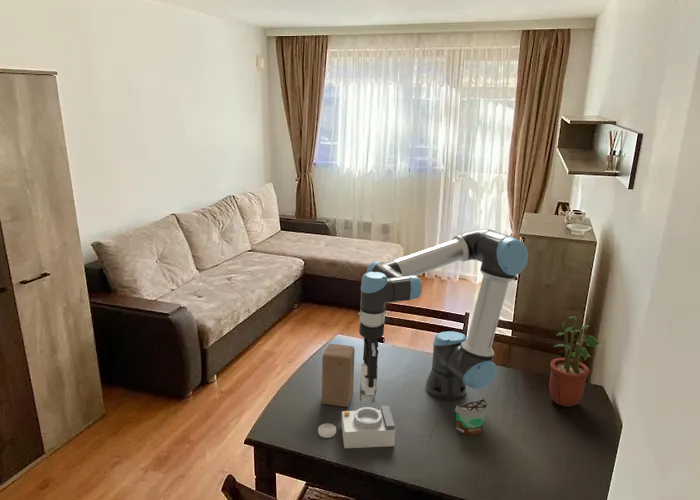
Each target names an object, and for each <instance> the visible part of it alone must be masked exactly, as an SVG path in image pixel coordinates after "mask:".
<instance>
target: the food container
mask: <svg viewBox="0 0 700 500" xmlns="http://www.w3.org/2000/svg"><path fill="white" fill-rule="evenodd" d="M454 412H456V413H455V415H456V417H455V418H456V422H455V425H456V427H455V428H456V432H458V433H460V434H462V435H464V436H467V437H468V436H471V437H475V436H478V435H480V434H481V433H482V431H483V426H484V423H485V422H484V421H485V416H486V415H487V414H488V412H489V404H488V402H487V399H485V397H482V398H481V399H480V400H477V401H471V402H468V403H466V404H464V405H462V406H458V405H456V406H455V408H454ZM479 433H480V434H479Z"/></svg>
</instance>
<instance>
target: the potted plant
mask: <svg viewBox="0 0 700 500" xmlns="http://www.w3.org/2000/svg"><path fill="white" fill-rule="evenodd" d="M568 319H572V326H571V327H568V325H567V322H566V320H564V321H563V322H562V326H561V327H562V329H563V332H562V331H560V332H559V331H558V332H557V334H556V336H563V335H564V337H563V338H564V343H559V344H556V345H554V346H553V347H564V357H558V358H553V359H552V360H551V361H550V366H549V367H550V369H551V371H550V376H549V384H548V386H549V389H548V390H549V395H550V398H551V400H552V401H553V402H554V403H555V404H557V405H559V406H560V407H565V408H571V407H574V406H576V405H578V404H579V403H580V402H581V399H582V397H583V395H584V391H585V387H586V382H587V381H586V380H587V378H588V377H589V375H590V369H589V367H588V366H587V365H586V364H585V363H583V362H581V361H580V360H581V359H580V358H581V356H582V357H583V359H584V361H586V360H587V359H588V358H589V357H590V358H592V356H591V355H590V354H589V352H588V350H587V348H586V347H581V345H582V344H581V342H582V341H584V342H585V343H586V345H587V347H588V346H589V347H597V346H598V345H599V344H601V342H599V340H597V339H596V337H594V336H593V335H588V334H584V332H585V331H584V330H586V329H587V328H589V325H588V324H586V325H582V327H580V329H581V330H580V329H576V326H577V317H576V315H575V316H574V315H573V316H570V317H568ZM568 331H570V332H571V335H570V342H569V335H568ZM575 332H579V335H578V338H577V339H576V338H575V334H576V333H575ZM583 334H584V335H583ZM582 337H583V338H582ZM581 340H582V341H581ZM575 341H576V342H575ZM574 342H575V348H574ZM569 343H570V344H569ZM573 348H574V352H573Z"/></svg>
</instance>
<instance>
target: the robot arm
mask: <svg viewBox="0 0 700 500" xmlns="http://www.w3.org/2000/svg"><path fill="white" fill-rule="evenodd" d="M528 260H529V251H528V248H527V247H526V245H525V243H524V242H523V241H522V240H519V239H518V238H515V237H514V236H511V235H507V234H504V233H501V232H498V231H496V230H492V229H489V228H488V229H487V228H481V229H475V230H470V231H466V232H464V233H460V234H456V235H454V236H453V237H452V239H451V240H449V241H445V242H442V243H440V244H437V245H434V246H431V247H427V248H425V249H422V250H419V251H417V252H414V253H411V254H409V255H408V254H407V255H404V256H402V257H399V258H396V259H393V260H391V261H390V260H389V261H388V262H383V261H378V260H376V261H373V262H371V263H369V265H368V267H367V269H366V273H364V274H363V275H362V277H361V284H360V310H359V311H360V312H358V313H357V315H358V316H359V321H360V322H359V327H358V328H359V329H358V333H359V335H360V336H362V337H363V354H362V355H363V357H362V360H363V363H366V362H367V375H365V378H366V392H365V394H366V395H374V391H375V379H377V380H378V373H377V366H378V356H379V349H378V348H379V341H378V339H379V338H382V337H383V336H384V335H385V333H384V332H385V324H384V323H385V319H386V304H392V303H397V302H404V301H411V300H416V299H419V298H420V297H421V295H422V293H423V292H422V291H423V290H422V289H423V285H422V280H421V279H420V278H419V277H418V276H419V275H422V274H425V273H428V272H430V271H434V270H436V269H439V268H441V267H445V266H447V265H450V264H453V263H455V262H461V263H462V262H463V263H465V262H467V261H478V262H481V264H480V269H479V271H480V273H481V274H482V279H481V283H480V286H479V291H478V295H477V299H476V303H475V306H474V311H473V315H472V317H471V318H472V319H471V322H470V325H469V330H468V334H467V336H466V335H465V334H464V333H462V332H458V331H450V330H449V331H441V332H439V333H436V335H435V336H434V340H433V343H432V344H433V351H432V363H431V370H430V372H429V374H428V376H427V378H426V381H425V390H426V391H427V393H428V394H430V395H431V396H433V397H435V398H437V399H439V400H445V401H455V400H459V399H462V398H463V397H464V396H465V395H466V392H467V390H466V389H467V386H468V387H469V388H470V389H472V390H482V389H484V388H486V387H488V386H489V385H491V383H493V381H494V380H495V378H496V376H497V374H498V367H497V365H496V363H495V362H494V361H493V359H494V356H495V351H494V350H493V349H494V348H493V347H492V346H493V343H494V338H495V334H496V330H497V327H498V323H499V319H500V316H501V311H502V309H503V305H504V302H505V297H506V294H507V290H508V287H509V283H511V282H512V281H514V280H515V279H516V276H518V275H520V274H521V273H522V272H523V270H525V269H526V267H527V265H528Z"/></svg>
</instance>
